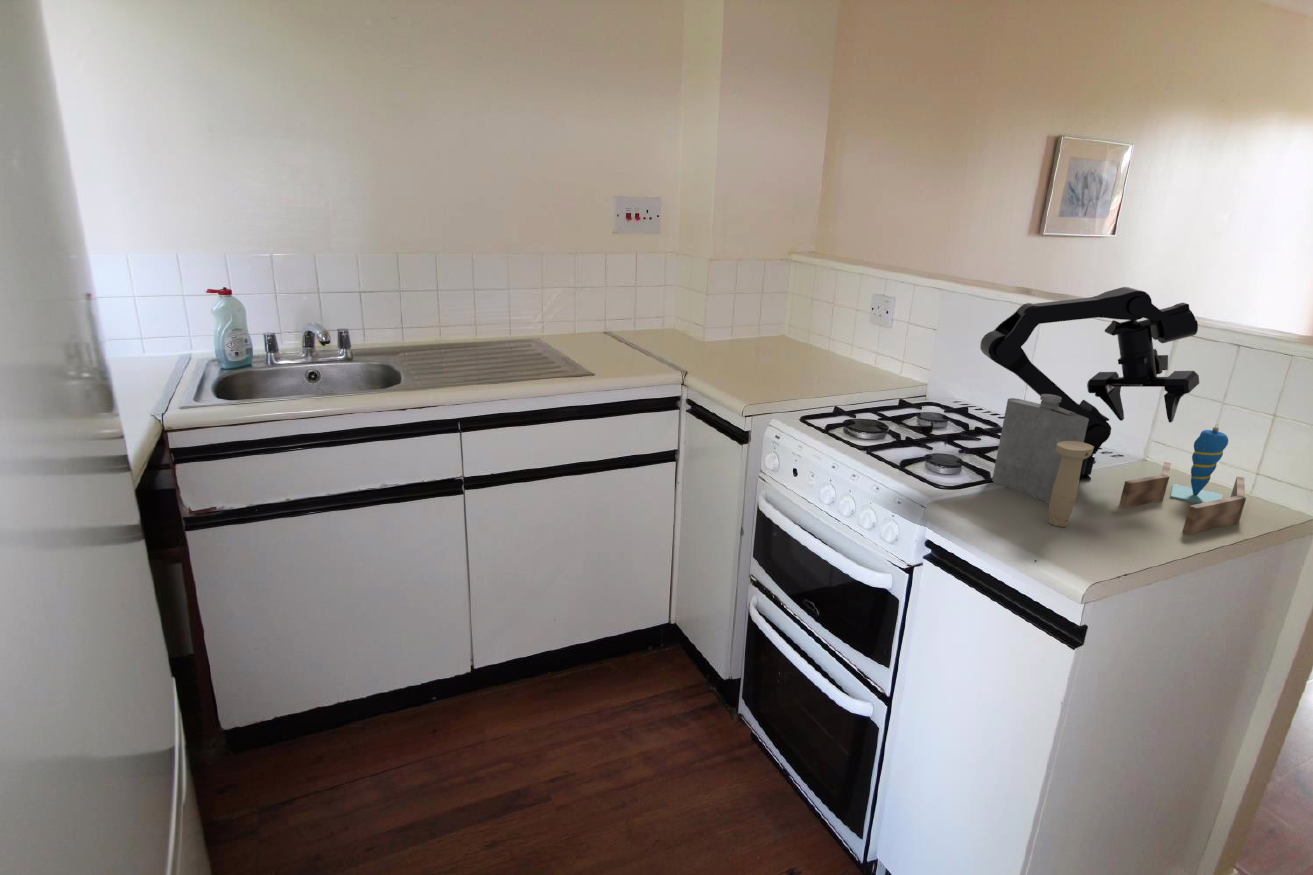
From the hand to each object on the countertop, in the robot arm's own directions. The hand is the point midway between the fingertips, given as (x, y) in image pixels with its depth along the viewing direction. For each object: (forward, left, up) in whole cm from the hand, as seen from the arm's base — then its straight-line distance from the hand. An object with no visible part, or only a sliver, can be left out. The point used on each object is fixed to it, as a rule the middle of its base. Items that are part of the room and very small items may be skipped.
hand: (1146, 420), depth 157 cm
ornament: (+9, -8, -13) cm, 17 cm away
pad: (+9, -8, -13) cm, 18 cm away
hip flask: (-25, -13, -13) cm, 31 cm away
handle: (-25, -28, -13) cm, 40 cm away
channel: (+4, -15, -13) cm, 20 cm away
